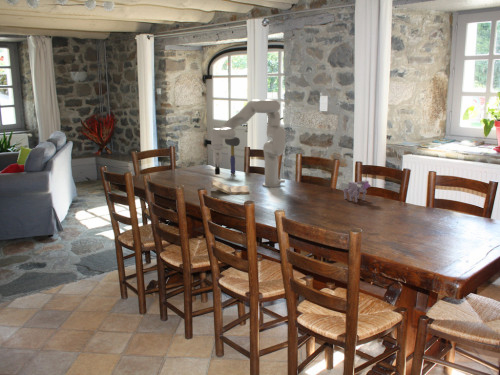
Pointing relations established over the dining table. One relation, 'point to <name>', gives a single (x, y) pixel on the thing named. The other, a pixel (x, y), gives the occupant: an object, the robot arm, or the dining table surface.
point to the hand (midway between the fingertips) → (217, 174)
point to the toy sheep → (358, 187)
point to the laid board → (239, 190)
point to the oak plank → (220, 186)
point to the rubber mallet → (232, 151)
